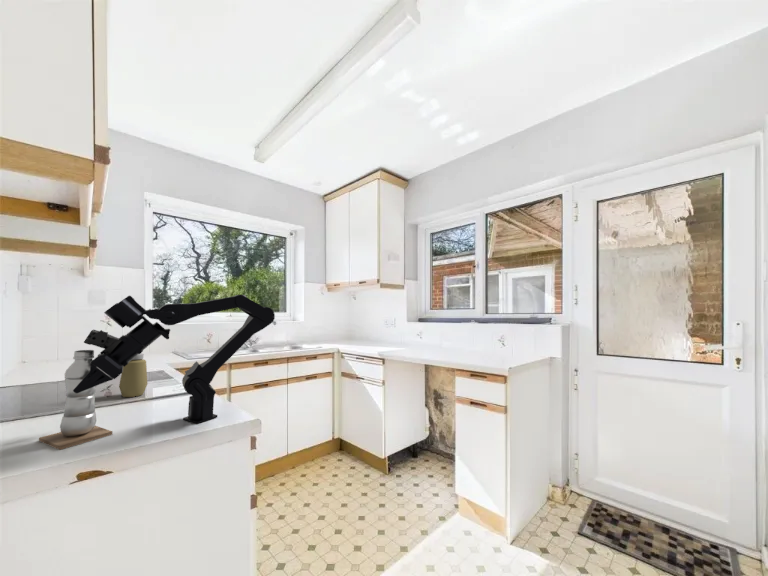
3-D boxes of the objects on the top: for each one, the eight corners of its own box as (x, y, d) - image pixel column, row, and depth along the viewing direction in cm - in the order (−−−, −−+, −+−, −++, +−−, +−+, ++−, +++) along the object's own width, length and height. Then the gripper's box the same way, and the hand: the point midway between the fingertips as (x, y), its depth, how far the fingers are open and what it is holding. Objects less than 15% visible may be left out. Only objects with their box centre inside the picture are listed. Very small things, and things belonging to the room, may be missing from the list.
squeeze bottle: (152, 392, 121) (155, 342, 122) (136, 398, 113) (140, 345, 114) (128, 392, 120) (132, 342, 121) (112, 398, 112) (115, 345, 113)
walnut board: (112, 434, 83) (112, 431, 83) (59, 449, 73) (60, 446, 74) (90, 427, 87) (91, 424, 87) (38, 441, 78) (39, 437, 78)
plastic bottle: (101, 428, 84) (107, 348, 86) (86, 438, 78) (92, 352, 79) (69, 430, 83) (76, 349, 84) (51, 440, 76) (59, 352, 77)
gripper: (114, 317, 92) (56, 360, 85) (107, 320, 77) (35, 373, 70) (147, 344, 96) (94, 387, 89) (146, 352, 81) (83, 405, 74)
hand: (78, 387), depth 81 cm, fingers open, 9 cm apart
